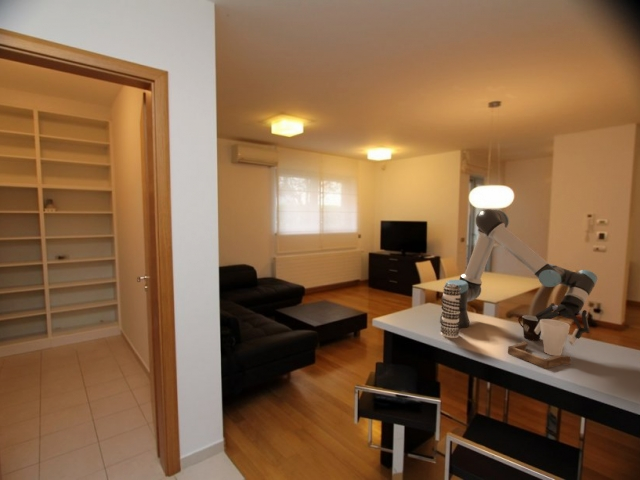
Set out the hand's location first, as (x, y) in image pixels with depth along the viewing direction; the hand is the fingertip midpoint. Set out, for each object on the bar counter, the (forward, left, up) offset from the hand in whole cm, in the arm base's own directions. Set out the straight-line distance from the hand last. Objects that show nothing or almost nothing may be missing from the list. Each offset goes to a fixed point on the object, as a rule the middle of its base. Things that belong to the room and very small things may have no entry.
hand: (552, 337), depth 138 cm
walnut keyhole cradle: (0, -11, -7) cm, 13 cm away
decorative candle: (-34, -23, -7) cm, 42 cm away
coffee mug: (-16, +12, -7) cm, 22 cm away
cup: (0, +1, -7) cm, 8 cm away
